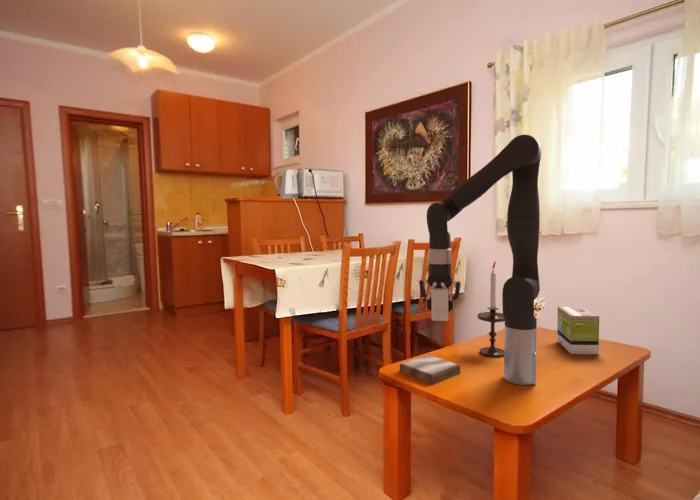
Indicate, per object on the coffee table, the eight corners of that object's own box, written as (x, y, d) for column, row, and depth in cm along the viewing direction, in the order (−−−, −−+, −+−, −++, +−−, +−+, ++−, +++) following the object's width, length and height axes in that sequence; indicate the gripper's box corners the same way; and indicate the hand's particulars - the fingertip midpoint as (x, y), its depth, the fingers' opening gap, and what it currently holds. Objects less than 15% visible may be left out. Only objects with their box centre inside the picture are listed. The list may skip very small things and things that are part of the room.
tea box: (556, 341, 169) (556, 305, 167) (582, 342, 167) (583, 306, 166) (570, 354, 154) (571, 314, 152) (599, 355, 152) (600, 315, 151)
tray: (460, 373, 138) (460, 364, 138) (432, 384, 129) (432, 375, 129) (427, 362, 149) (427, 353, 149) (399, 371, 140) (399, 363, 140)
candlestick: (506, 349, 160) (507, 258, 157) (509, 359, 150) (511, 262, 147) (476, 347, 163) (477, 258, 160) (478, 357, 153) (478, 262, 149)
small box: (448, 321, 138) (448, 290, 138) (431, 320, 140) (431, 289, 139) (448, 315, 146) (448, 285, 145) (432, 315, 148) (431, 285, 147)
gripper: (463, 261, 142) (462, 309, 143) (421, 260, 147) (421, 306, 149) (460, 263, 135) (459, 314, 137) (416, 262, 140) (416, 311, 142)
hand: (439, 310), depth 143 cm, fingers closed on small box, 6 cm apart
